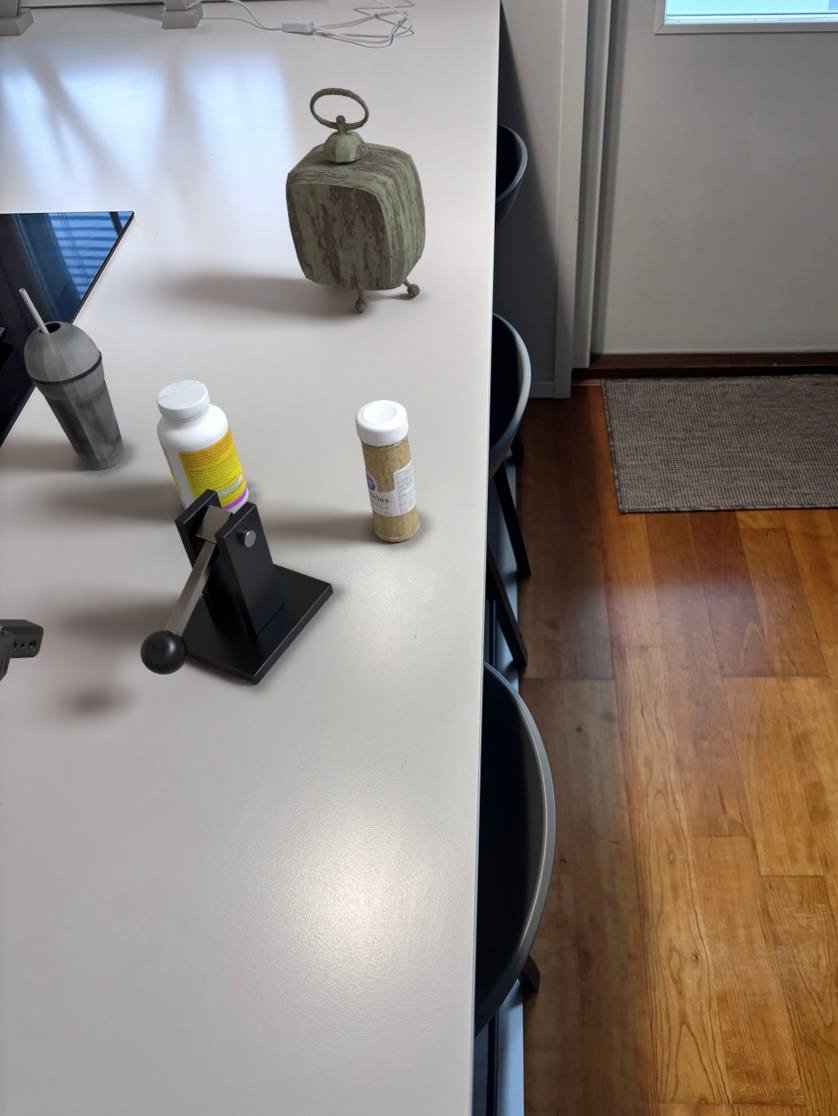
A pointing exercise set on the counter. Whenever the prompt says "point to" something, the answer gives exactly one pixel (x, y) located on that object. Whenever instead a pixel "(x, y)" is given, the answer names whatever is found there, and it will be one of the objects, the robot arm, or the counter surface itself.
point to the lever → (185, 602)
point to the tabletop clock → (356, 210)
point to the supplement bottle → (199, 445)
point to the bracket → (245, 595)
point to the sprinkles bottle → (388, 469)
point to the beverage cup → (74, 389)
